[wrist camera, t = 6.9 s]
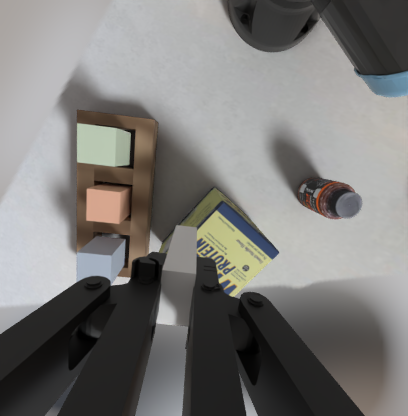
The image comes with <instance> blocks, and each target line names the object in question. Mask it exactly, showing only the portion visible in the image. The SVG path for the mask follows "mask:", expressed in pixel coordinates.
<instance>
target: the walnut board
mask: <svg viewBox="0 0 408 416" xmlns="http://www.w3.org/2000/svg"><path fill="white" fill-rule="evenodd" d="M77 123H80V124H88V125H96V126H103V127H111V128H117V129H125V130H133V131H136V135H135V154H134V167H126V166H116V167H113V166H105V165H96V164H88V163H79V162H77V252H78V251H79V250H80V249H81V248H83V247H84V246H85V245H86V244H88V243H89V242H90V241H91V240H92V239H94V238H95V237H96V236H101V237H102V232H103V233H112V234H122V235H130V245H129V258H125V259H124V266H123V268H122V269H121V271H120V272H119V274H118V275H117V276H119V277H130V278H131V268H132V261H133V260H134V259H136V258H138V257H144V256H147V255H148V254H149V241H150V227H151V214H152V200H153V187H154V173H155V160H156V146H157V133H158V122H156V121H155V120H153V119H145V118H137V117H130V116H122V115H115V114H107V113H99V112H92V111H84V110H77ZM103 182H112V183H121V184H130V185H133V190H132V209H131V215H129V216H127V217H126V218H125V219H124V220H123V221H122V222H121V223H120V224H115V223H106V222H96V221H86V212H87V188H90V187H94V186H97V185H100V184H103Z"/></svg>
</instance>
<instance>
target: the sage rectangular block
mask: <svg viewBox="0 0 408 416" xmlns="http://www.w3.org/2000/svg"><path fill="white" fill-rule="evenodd" d="M130 140H131V133H129V132H126V131H123V130H120V129H117V128H111V127H103V126H96V125H88V124H80V123H77V162H79V163H88V164H96V165H105V166H113V167H116V166H123V165H129V160H130Z"/></svg>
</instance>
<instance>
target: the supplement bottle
mask: <svg viewBox="0 0 408 416" xmlns="http://www.w3.org/2000/svg"><path fill="white" fill-rule="evenodd" d="M298 199H299V201H300V203H301V204H302V205H303V206H305V207H307V208H308V209H311V210H313V211H315V212H317V213H319V214H321V215H323V216H325V217H327V218H330V219H341V218H352V217H354V216H355V215H357V214H358V213H359V212H360V210H361V207H362V199H361V197H360V196H359V195H358V194H357V193H355V191H354V189H353V188H352V187H351V186H349V185H347V184H345V183H341V182H336V181H332V180H327V179H322V178H309V179H307V180H305V181H304V182H303V183H302V184H301V185H300V187H299V189H298Z"/></svg>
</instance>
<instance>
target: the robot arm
mask: <svg viewBox="0 0 408 416" xmlns="http://www.w3.org/2000/svg"><path fill="white" fill-rule="evenodd" d="M228 9H229V14H230V18H231V21H232V23H233V25H234V28H235V29H236V31H237V33H238V34H239V35H240V37H241V38H242V39H243V40H244V41H245V42H246V43H248V44H249V45H250V46H252V47H254V48H256V49H258V50H261V51H265V52H280V51H284V50H287V49H289V48H291V47H293V46H295V45H297V44H298V43H299V42H300V41H302V40H303V39H304V38H305V37H306V36H307V35H308V33H309V32H310V31H311V30H312V29H313V28H314V26H315V25H316V24H317V22H318V20H319V19H320V17H321V18H322V20H323V21H324V23H325V24H326V26H327V27H328V29H329V30H330V32H331V33H332V35H333V36H334V38H335V39H336V41H337V42H338V44H339V45H340V47H341V48H342V50H343V51H344V53H345V54H346V56H347V57H348V59H349V60H350V62H351V63H352V65H353V66H354V71H355V73H356V74H357V75H358V76H359V77H361V78H362V79H363V80H364V81H365V83H366V84H367V85H368V87H369V88H370V89H371V90H372V92H374V93H375V94H377V95H381V96H384V97H400V96H406V95H408V0H228ZM156 320H157V323H159V324H169V325H178V326H179V325H180V326H188V334H187V341H186V348H185V349H186V365H185V381H184V396H183V411H182V416H246V410H245V405H244V400H243V394H242V388H241V383H240V377H239V373H240V375H241V378H242V380H243V382H244V385H245V387H246V389H247V391H248V394H249V396H250V398H251V400H252V403H253V405H254V407H255V410H256V412H257V414H258V416H364V414H363V413H362V412H361V411H360V409H359V408H358V407H357V406H356V405H355V403H354V402H353V401H352V400H351V399H350V397H349V396H348V395H347V394H346V393H345V391H344V390H343V389H342V388H341V387H340V385H339V384H338V383H337V382H336V381H335V379H334V378H333V377H332V376H331V374H330V373H329V372H328V371H327V370H326V369H325V367H324V366H323V365H322V364H321V362H320V361H319V360H318V359H317V358H316V356H315V355H314V354H313V353H312V352H311V350H310V349H309V348H308V347H307V345H305V343H304V342H303V341H302V340H301V338H300V337H299V336H298V335H297V334H296V332H295V331H294V330H293V329H292V327H291V326H290V325H289V324H288V323H287V321H286V320H285V319H284V318H283V317H282V315H281V314H280V313H279V312H278V311H277V309H276V308H275V307H274V306H273V305H272V303H271V302H270V301H269V300H268V299H267V298H266V297H264V296H263V295H261V294H259V293H255V292H245V293H243V294H242V295H241V297H240V299H238V298H235V297H232V296H230V295H228V294H226V293H225V292H224V289H223V287H222V285H221V284H220V283H219V279H218V273H217V267H216V262H215V261H214V260H213V259H212V258H205V257H197V228H196V227H189V226H181V225H176V227H175V230H174V233H173V237H172V240H171V243H170V246H169V250H168V253H167V254H166V253H158V252H151V253H150V254H148V255H147V256H144V257H138V258H136V259H134V260H133V261H132V268H131V279H130V281H129V282H128V283H127V284H123V285H113V286H111V281H110V280H109V279H108V278H106V277H103V276H90V277H86V278H83V279H81V280H79V281H78V282H77V283H75V284H74V285H72V286H71V287H69V288H68V289H66V290H65V291H63V292H62V293H60V294H59V295H57V296H56V297H54V298H53V299H52V300H50V301H49V302H47V303H46V304H44V305H43V306H41V307H40V308H38V309H37V310H35V311H34V312H32V313H31V314H29V315H28V316H27V317H25V318H24V319H22V320H21V321H20V322H18V323H16V324H15V325H13V326H12V327H10V328H9V329H7V330H6V331H4V332H3V333H2V334H0V416H45V414H46V413H47V412H48V411H49V410H50V409H51V407H52V406H53V405H54V404H55V402H56V401H57V400H58V399H59V398H60V396H61V395H62V394H63V393H64V392H65V390H66V389H67V388H68V387H69V386H70V384H71V383H72V382H73V381H74V379H75V378H76V377H77V376H78V375H79V376H78V378H77V380H76V382H75V384H74V385H73V388H72V389H71V391H70V393H69V395H68V397H67V398H66V401H65V402H64V404H63V406H62V408H61V410H60V412H59V413H58V415H57V416H135V414H136V409H137V405H138V401H139V397H140V392H141V388H142V384H143V380H144V376H145V372H146V367H147V363H148V359H149V355H150V350H151V346H152V342H153V338H154V334H155V327H156ZM238 371H239V372H238ZM79 373H80V374H79Z"/></svg>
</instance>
